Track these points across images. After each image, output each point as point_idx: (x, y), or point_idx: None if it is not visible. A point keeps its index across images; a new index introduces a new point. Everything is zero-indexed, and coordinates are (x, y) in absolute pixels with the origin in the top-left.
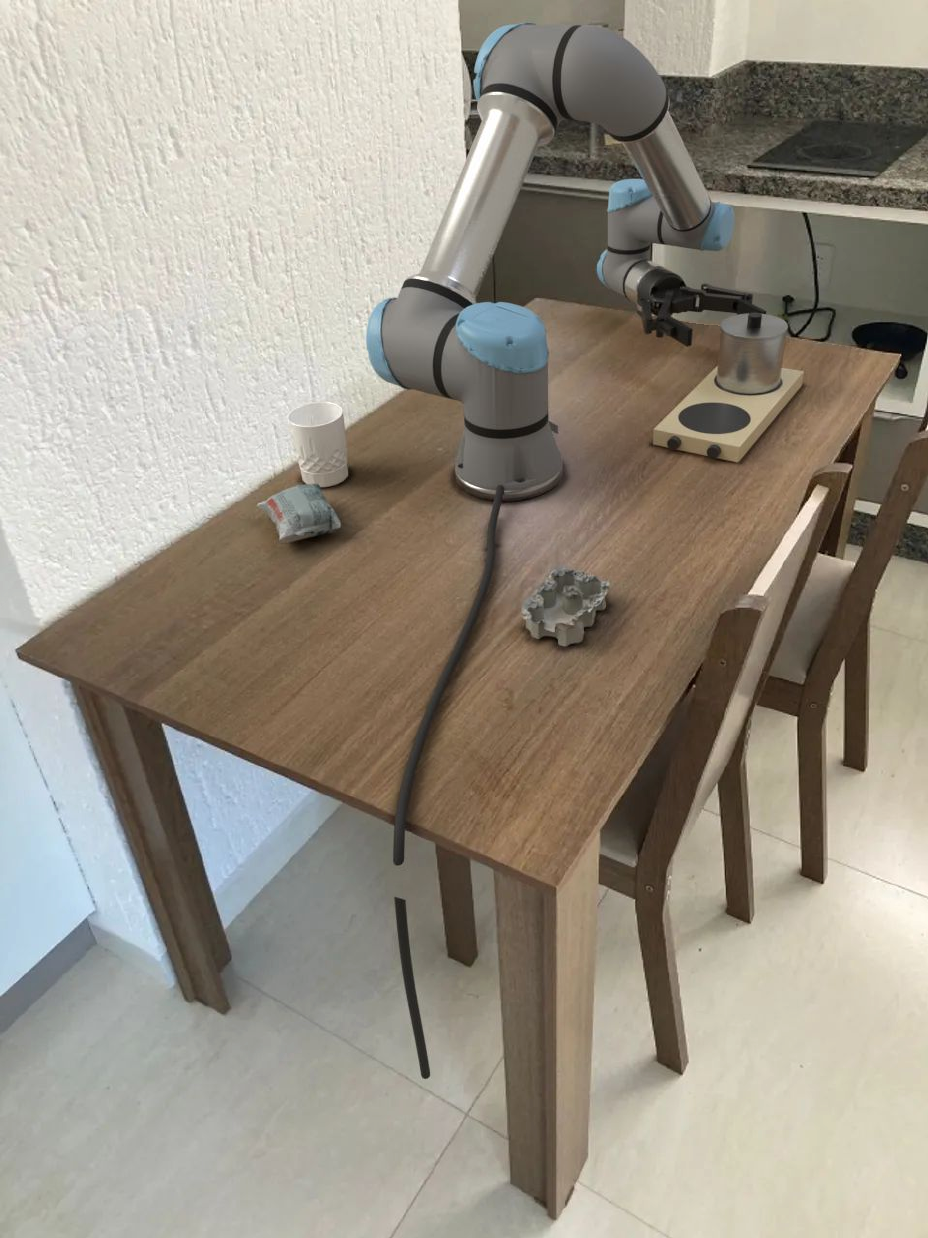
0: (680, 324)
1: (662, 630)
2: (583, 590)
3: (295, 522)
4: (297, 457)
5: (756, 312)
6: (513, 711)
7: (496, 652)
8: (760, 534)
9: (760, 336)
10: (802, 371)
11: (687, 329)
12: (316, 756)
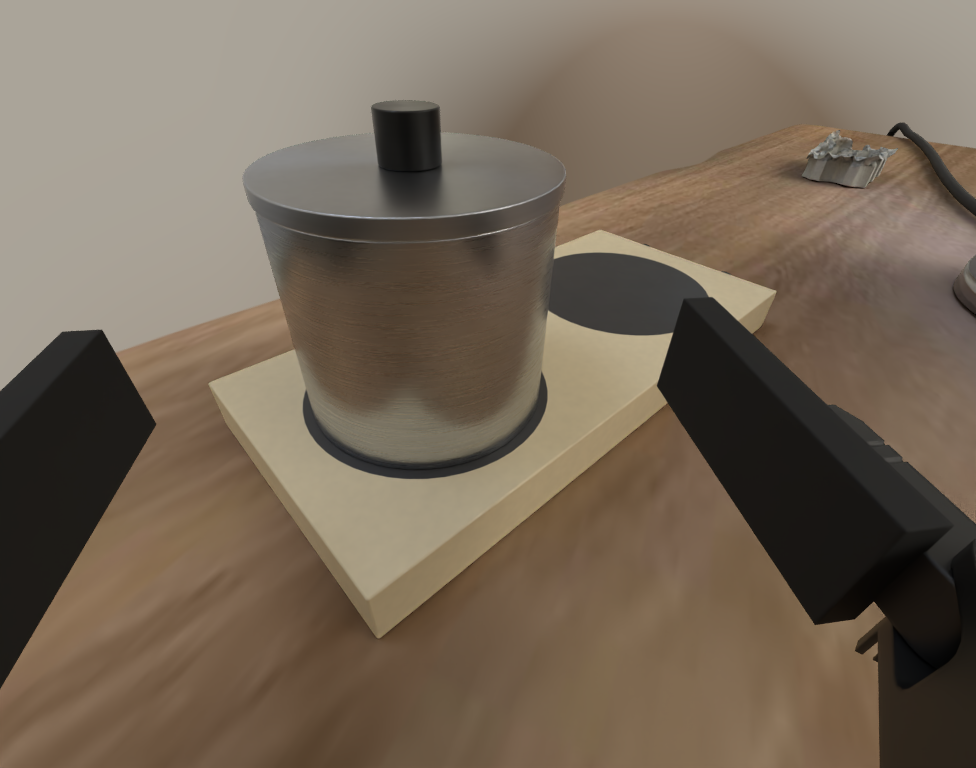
0: (767, 358)
1: (743, 162)
2: (833, 169)
3: None
4: None
5: (78, 393)
6: None
7: (897, 170)
8: (620, 192)
9: (455, 135)
10: (214, 381)
11: (717, 301)
12: None
